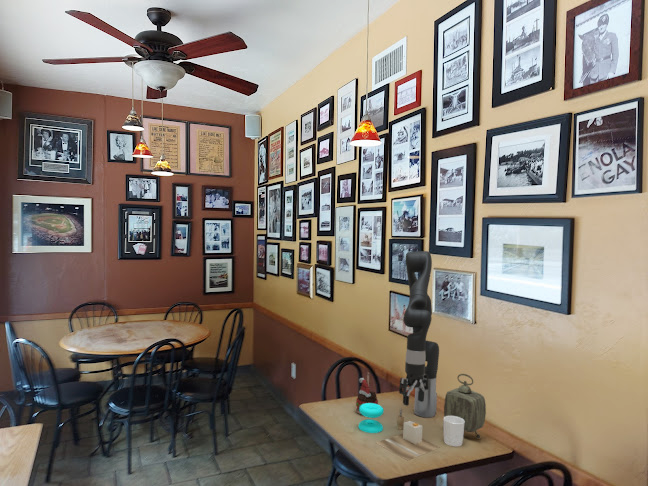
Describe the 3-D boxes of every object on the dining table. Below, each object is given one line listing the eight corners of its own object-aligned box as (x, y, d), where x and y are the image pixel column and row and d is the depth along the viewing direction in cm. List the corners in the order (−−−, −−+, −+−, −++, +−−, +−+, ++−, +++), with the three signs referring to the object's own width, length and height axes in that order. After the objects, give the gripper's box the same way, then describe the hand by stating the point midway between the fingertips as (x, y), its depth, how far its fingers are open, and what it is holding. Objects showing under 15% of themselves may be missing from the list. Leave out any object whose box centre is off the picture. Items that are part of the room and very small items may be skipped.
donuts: (360, 400, 186) (384, 403, 184) (359, 424, 186) (383, 427, 184) (357, 409, 176) (382, 412, 174) (356, 434, 176) (381, 437, 174)
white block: (409, 435, 174) (410, 419, 174) (421, 441, 169) (422, 424, 169) (402, 438, 172) (403, 421, 172) (414, 444, 167) (415, 426, 167)
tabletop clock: (484, 439, 177) (487, 376, 177) (473, 445, 171) (476, 381, 171) (452, 427, 187) (454, 368, 187) (440, 432, 181) (443, 371, 181)
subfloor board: (407, 434, 178) (407, 431, 178) (439, 450, 165) (440, 447, 165) (375, 445, 167) (375, 442, 167) (407, 463, 154) (407, 460, 154)
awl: (399, 429, 183) (400, 407, 183) (404, 431, 180) (405, 409, 180) (395, 430, 181) (396, 409, 181) (400, 433, 179) (401, 411, 179)
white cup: (460, 452, 164) (461, 425, 164) (439, 446, 169) (440, 420, 169) (465, 444, 171) (467, 418, 171) (445, 439, 175) (446, 414, 175)
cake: (382, 415, 197) (383, 374, 197) (365, 418, 192) (367, 377, 192) (367, 407, 206) (368, 368, 206) (351, 410, 201) (353, 371, 201)
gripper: (419, 356, 178) (418, 397, 178) (395, 361, 169) (393, 403, 169) (434, 361, 172) (433, 402, 172) (410, 365, 163) (408, 409, 163)
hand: (413, 403), depth 170 cm, fingers open, 8 cm apart
